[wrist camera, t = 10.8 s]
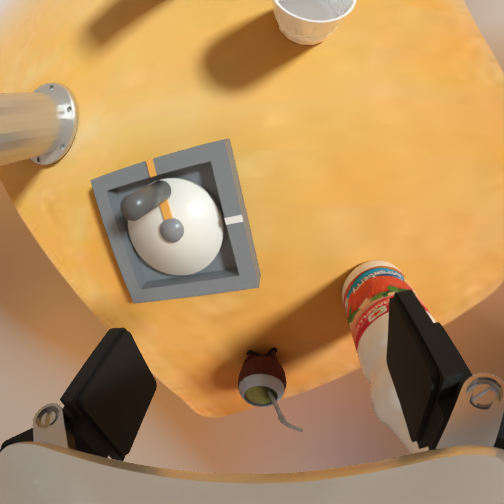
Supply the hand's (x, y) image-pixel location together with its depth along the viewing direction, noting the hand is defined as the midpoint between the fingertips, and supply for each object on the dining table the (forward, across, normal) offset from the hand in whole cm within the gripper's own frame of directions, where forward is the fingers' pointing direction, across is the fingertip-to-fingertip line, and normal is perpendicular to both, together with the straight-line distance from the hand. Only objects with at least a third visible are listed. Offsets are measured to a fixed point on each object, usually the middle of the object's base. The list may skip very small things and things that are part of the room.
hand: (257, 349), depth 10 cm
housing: (+28, +13, +2) cm, 31 cm away
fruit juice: (+28, -11, +16) cm, 34 cm away
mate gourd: (+28, +6, +26) cm, 39 cm away
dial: (+27, +13, +2) cm, 30 cm away
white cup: (+28, -8, -20) cm, 36 cm away
